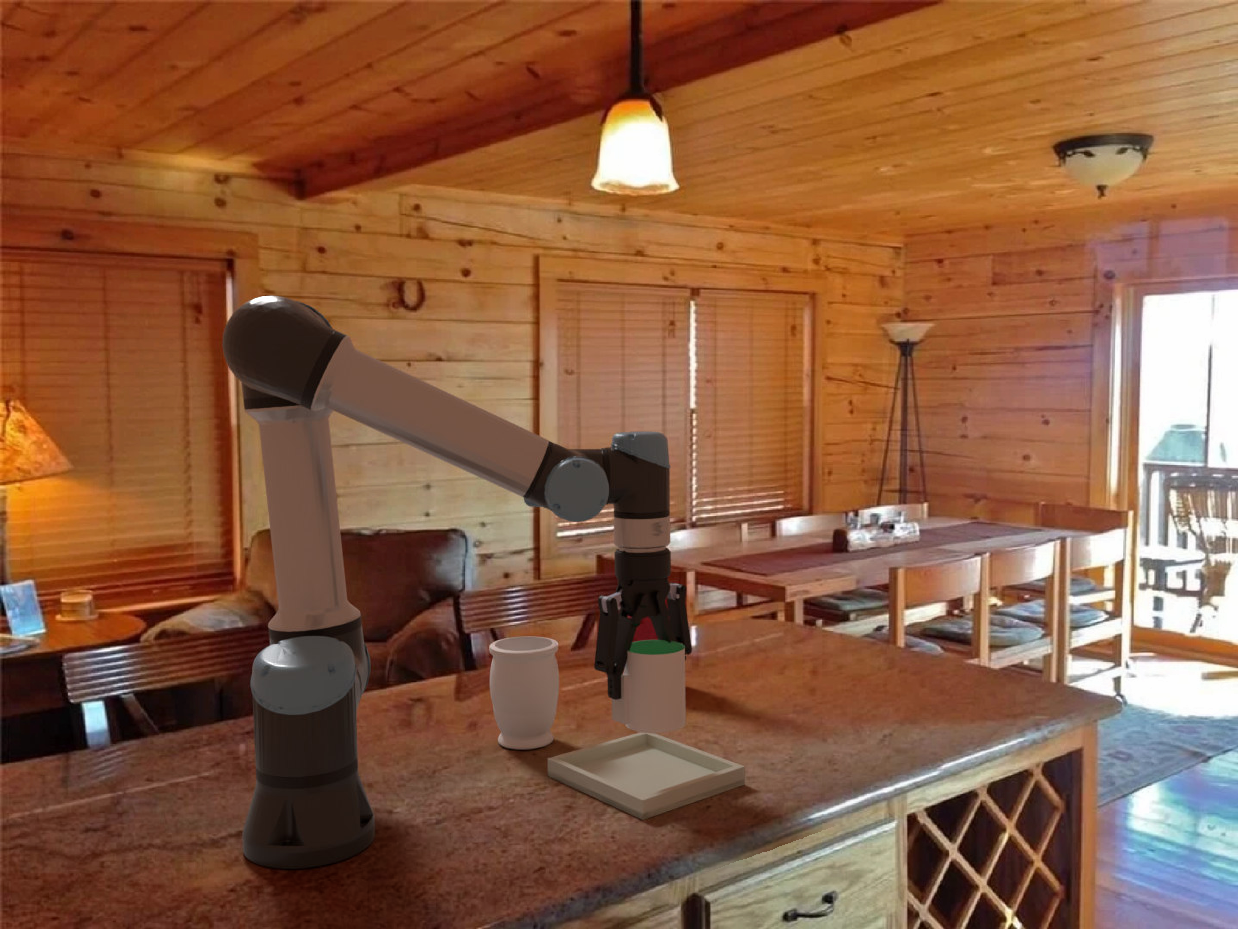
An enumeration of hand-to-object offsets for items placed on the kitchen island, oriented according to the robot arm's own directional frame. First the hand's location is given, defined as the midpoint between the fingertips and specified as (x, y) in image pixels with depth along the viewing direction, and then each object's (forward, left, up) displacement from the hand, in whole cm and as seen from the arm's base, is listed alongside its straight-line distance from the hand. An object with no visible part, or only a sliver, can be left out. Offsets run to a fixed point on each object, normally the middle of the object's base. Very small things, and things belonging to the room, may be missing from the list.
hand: (645, 714), depth 150 cm
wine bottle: (+30, +33, -9) cm, 46 cm away
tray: (0, 0, -9) cm, 9 cm away
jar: (-3, +24, -9) cm, 26 cm away
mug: (0, 0, -1) cm, 1 cm away
